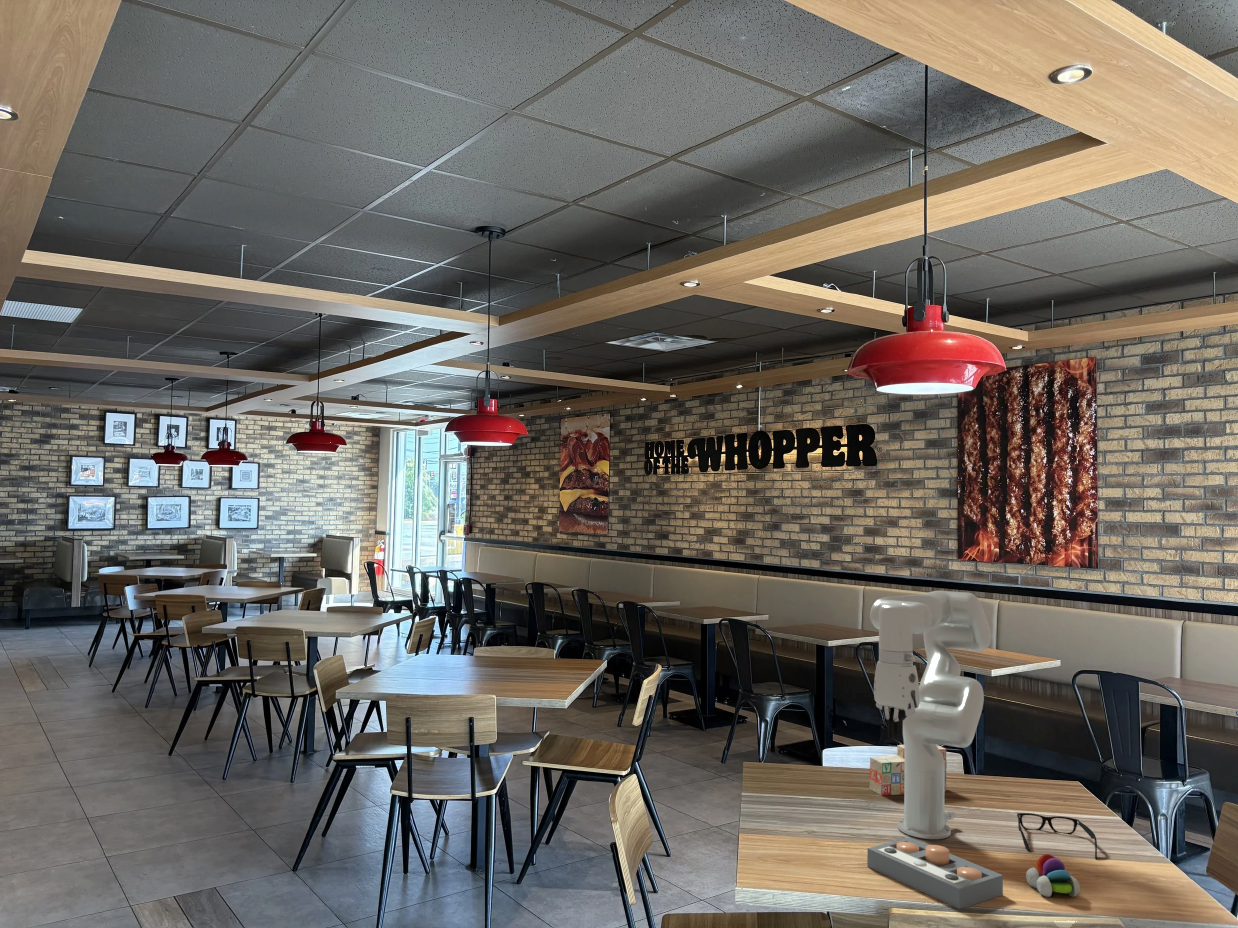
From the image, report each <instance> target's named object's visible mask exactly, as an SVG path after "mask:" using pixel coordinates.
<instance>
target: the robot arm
mask: <svg viewBox="0 0 1238 928" xmlns="http://www.w3.org/2000/svg"><path fill="white" fill-rule="evenodd" d="M869 613H870V614H869V616H870V623H871V625H872V626H873V627H874V628H875V629H877V630H878V661H877V662H876V667H875V671H874V672H875V673H874V682H873V695H874V696H873V697H874V701H875V702H876V703H875V706H876V708H877V709H880V710H882V712H883V713H884V717H885V719H886V720H887V737H888V738H890V739H893V740H895V739H896V740H897V739H901V738H903V739H902V740H903V745H904V757H905V765H904V794H903V800H904V801H903V803H904V805H903V810H904V812H903V818H902V819H900V820H898V821H897V828H898V830H900V831H901V832H902V833H904V834H906V835H908V836H911V837H914V838H919V839H925V840H944V839H947V838H949V837H950V836H951V835H952V829H951V827H950V826H949V825H947V822H948V821H949V820H953V819H954V820H955V818H956V813H955V812H954V811H953V810H948V811H945V791H944V770H945V765H944V759H943V756H942V754H941V752H940V750H939V749H938V747H937V746H936V745H943V746H948V747H953V748H954V747H956V748H967V747H969V746H970V745H972V743H973V740H974V738H975V735H976V732H977V727H978V724H979V721H980V718H981V715H982V712H983V708H984V707H983V706H984V701H985V699H984V698H985V694H984V689H983V686H982V684H981V682H979V681H978V680H976V679H975V678H972V677H968V676H961V673H962V669H961V666H960V663H959V662H958V661H957V659H956V657H955V656H954V655H953V654H952V653H951V652H950V651H949V650H948V649H950V650H951V649H953V650H961V651H971V652H972V651H973V652H982V651H983V652H984V651H985V650H987V649H988V648H989V646H990V644H991V639H992V632H991V627H990V624H989V621H988V619H987V615H986V612H985V610H984V608H983V605H982V603H981V601H980V600H979V597H977V596H976V595H975V594H974V593H971V592H968V591H967V592H965V591H963V592H962V591H949V590H934V591H933V590H932V591H930V592H926V593H922V594H909V595H901V596H900V595H896V596H885V597H881V598H878V599H876V600H875V601H874V602H873V603H872V606H871V608H870V612H869ZM914 634H916V635H921V634H923V643H924V650H925V654H926V660H927V663H926V667H925V670H924V672H923V674H922V677H921V680H920V682H919V677H918V672H917V667H916V665H913V662H915V661H916V656H914V655H913V652H914V651H913V649H914V648H913V647H914V646H913V643H914V642H913V641H914V640H913V637H914Z"/></svg>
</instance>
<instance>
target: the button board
mask: <svg viewBox="0 0 1238 928" xmlns="http://www.w3.org/2000/svg"><path fill="white" fill-rule="evenodd" d="M899 842H910V843H914V844H916V845H918V846H919V852H915V853H911V854H908V853H906V852H903V851H901V850H899V849H897V843H899ZM928 845H929V844H928V843H925V842H922V841H920V840H918V839H915V838H912V837H906V838H903V839H898V840H895V841H890V842H887V843H883V844H880V845H879V844H878V845H873V846H870V847H868V848H867V855H866V856H867V862H866V863H867V864H866V866H867V868H870V869H872V870H874V871H876V872H877V873H878V872H879V873H880V874H883V875H885V876H887V877H889V878H891V879H893V880H895V881H898V882H900V883H902V884H904V885H905V886H909V887H910V888H912V889H914V890H917V891H919V892H922V893H924V894H926V895H927V896H930V897H932V898H934V899H936V900H939V901H941V902H943V903H945V904H947V905H949V906H951V907H953V908H956V909H958V910H961V909H965V908H967V907H970V906H973V905H976V904H980V903H984V902H985V901H988V900H989V901H990V900H991V899H996V898H997V897H1000V896H1003V895H1004V881H1003V880H1004V878H1003V877H1004V876H1003V874H1001V873H998V872H996V871H993V870H991V869H988V868H986V867H985V866H984V867H983V866H981V865H978V864H976V863H974V862H971V861H968V860H967V859H964V858H962V857H959V856H957V855H954V854H952V853H950V852H949V864H948V865H945V866H941V867H939V866H936V865H934V864H932V863H929V862H927V861H926V846H928ZM959 867H970V868H974V869H977V870H979V871H980V872H981V873H982V878H980V879H977V880H974V881H971V880H969V879H967V878H964V877H962V876H960V875H957V868H959Z"/></svg>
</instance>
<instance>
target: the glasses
mask: <svg viewBox="0 0 1238 928" xmlns="http://www.w3.org/2000/svg"><path fill="white" fill-rule="evenodd" d="M1016 816H1017V821H1018V822H1017V823H1018V825H1017V827H1018V831H1019V832H1020V834H1021V835H1020V836H1021V838H1022V842H1023V844H1024V847H1025V850H1026V852H1028V853H1030V852H1031V849H1030V845H1029V843H1028V841H1027V839H1026V835H1025V834H1024V832H1023V829H1024V830H1025V831H1042V830H1043V828H1044V827H1045V826H1046V823H1048V825H1049V827H1050V829H1051V830H1052V831H1053V832H1055V833H1058V834H1063V835H1064V834H1065V835H1072V834H1073V833H1075V832H1076V830H1077V827H1078V826H1079V827H1081V828H1082V829H1083V831H1084V832H1085V833H1086V834H1088V836H1089V837H1090V838H1091V840H1092V839H1093V840H1094V852H1095V853H1094V859H1095V860H1096V861H1097V860H1098V851H1097V850H1098V842H1097V836H1096V835H1095V833H1094V832H1093V830H1092V829H1091V828H1090V827H1089V826H1087V825H1085V824H1084V823H1083V822H1081V821H1080V820H1079V819H1077V818H1073V817H1068V816H1056V815H1055V816H1054V815H1053V816H1043V815H1041V814H1040V815H1039V814H1036V813H1030V812H1021V813H1020V812H1018V813H1016ZM1024 816H1034V817H1038V818H1040V819H1041V824H1040V826H1039V827H1038V828H1033V829H1032V828H1027V827H1025V826H1024V823H1023V817H1024ZM1054 819H1062V820H1069V821H1071V822H1072V823H1073V828H1072V831H1071V832H1062V831H1061V832H1060V831H1058V830H1056V829H1055V827H1054V826H1053V822H1052V821H1053V820H1054Z"/></svg>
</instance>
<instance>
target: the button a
mask: <svg viewBox="0 0 1238 928" xmlns="http://www.w3.org/2000/svg"><path fill="white" fill-rule="evenodd" d="M897 849H899V850H901V851H903V852H906V853H908V854H911V853H915V852H919V846H918V845H916V844H914V843H910V842H899V843H897Z"/></svg>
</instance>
